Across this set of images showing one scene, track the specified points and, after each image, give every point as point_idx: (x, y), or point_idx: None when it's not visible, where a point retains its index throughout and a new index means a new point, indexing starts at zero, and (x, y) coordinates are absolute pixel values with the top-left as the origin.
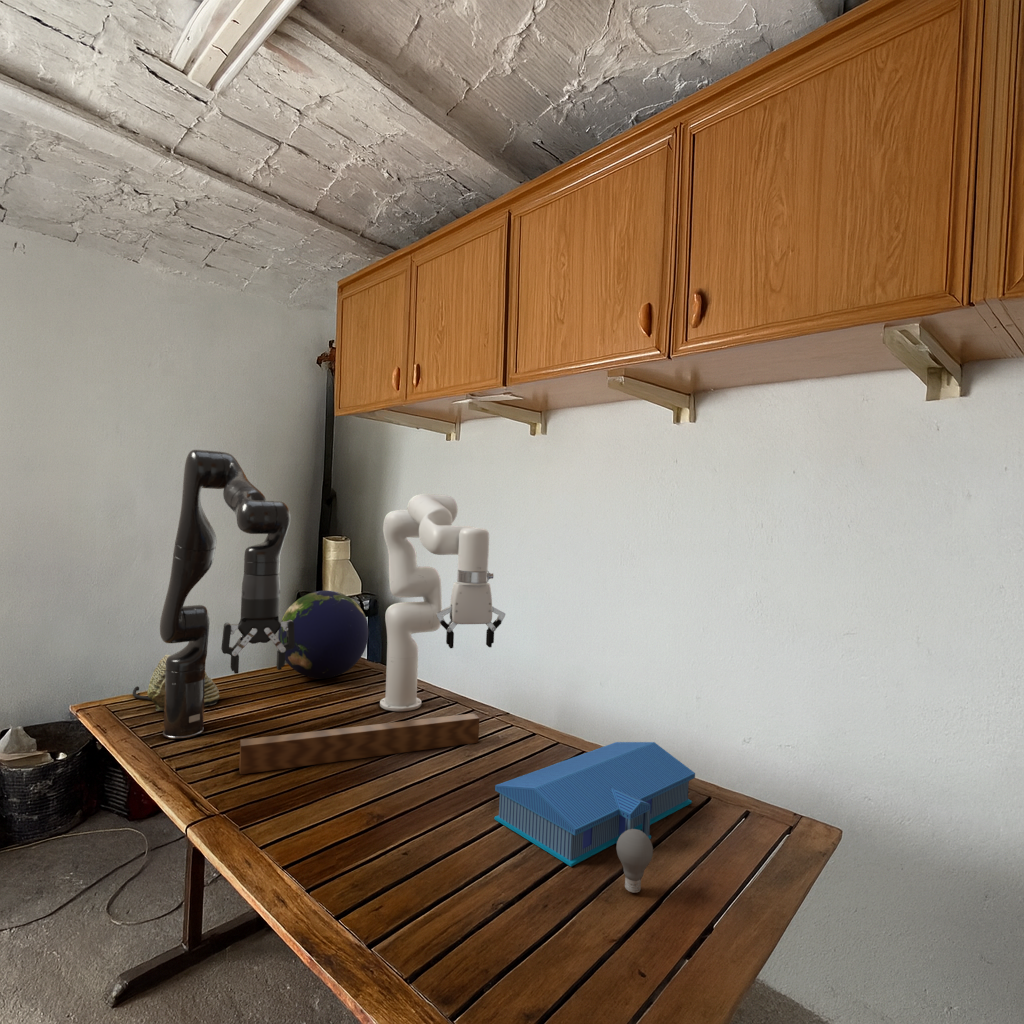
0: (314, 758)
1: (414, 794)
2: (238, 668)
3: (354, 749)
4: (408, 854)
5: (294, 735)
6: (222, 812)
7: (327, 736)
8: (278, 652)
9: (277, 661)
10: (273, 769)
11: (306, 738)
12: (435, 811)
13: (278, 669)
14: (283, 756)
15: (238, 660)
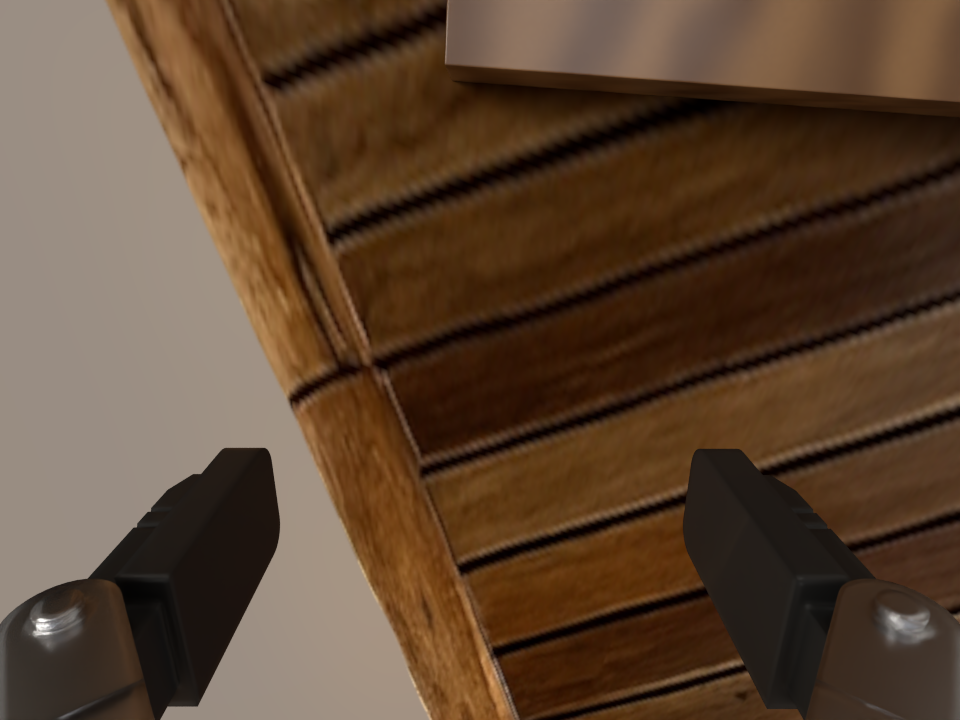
0: (753, 100)
1: (924, 472)
2: (260, 580)
3: (937, 111)
4: (746, 700)
5: (718, 15)
6: (379, 362)
7: (861, 94)
8: (777, 673)
9: (721, 534)
10: (580, 89)
11: (757, 87)
12: (911, 575)
13: (688, 536)
14: (629, 88)
15: (218, 652)
